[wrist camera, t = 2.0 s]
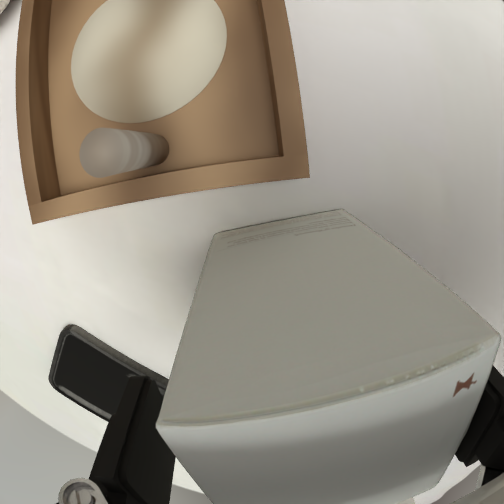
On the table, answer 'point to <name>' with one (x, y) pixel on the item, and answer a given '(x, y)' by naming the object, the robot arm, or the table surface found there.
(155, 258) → the table surface
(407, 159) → the table surface
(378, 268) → the supplement box
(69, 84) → the caddy
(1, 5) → the air blower bulb
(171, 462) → the robot arm
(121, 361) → the phone
